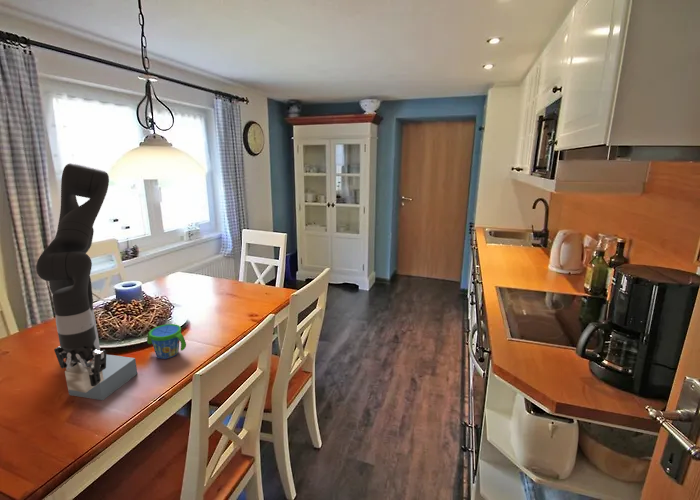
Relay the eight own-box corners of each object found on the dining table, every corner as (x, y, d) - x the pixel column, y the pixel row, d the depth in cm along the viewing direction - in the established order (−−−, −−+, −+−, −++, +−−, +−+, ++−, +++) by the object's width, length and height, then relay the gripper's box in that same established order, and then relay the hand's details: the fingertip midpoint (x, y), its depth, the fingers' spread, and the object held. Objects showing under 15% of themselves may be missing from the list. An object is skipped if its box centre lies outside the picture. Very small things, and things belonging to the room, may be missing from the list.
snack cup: (194, 352, 134) (192, 328, 131) (171, 366, 124) (168, 341, 122) (164, 343, 139) (161, 320, 136) (140, 356, 130) (137, 332, 127)
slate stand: (69, 395, 108) (65, 378, 106) (106, 369, 121) (104, 354, 120) (102, 400, 106) (99, 383, 105) (137, 373, 119) (135, 358, 118)
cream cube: (68, 389, 92) (64, 371, 91) (86, 377, 98) (83, 360, 96) (86, 392, 92) (82, 374, 90) (103, 380, 97) (100, 362, 95)
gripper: (112, 323, 93) (120, 378, 97) (66, 317, 95) (76, 371, 99) (86, 336, 85) (96, 395, 90) (37, 329, 88) (49, 387, 92)
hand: (85, 382), depth 94 cm, fingers closed on cream cube, 5 cm apart
